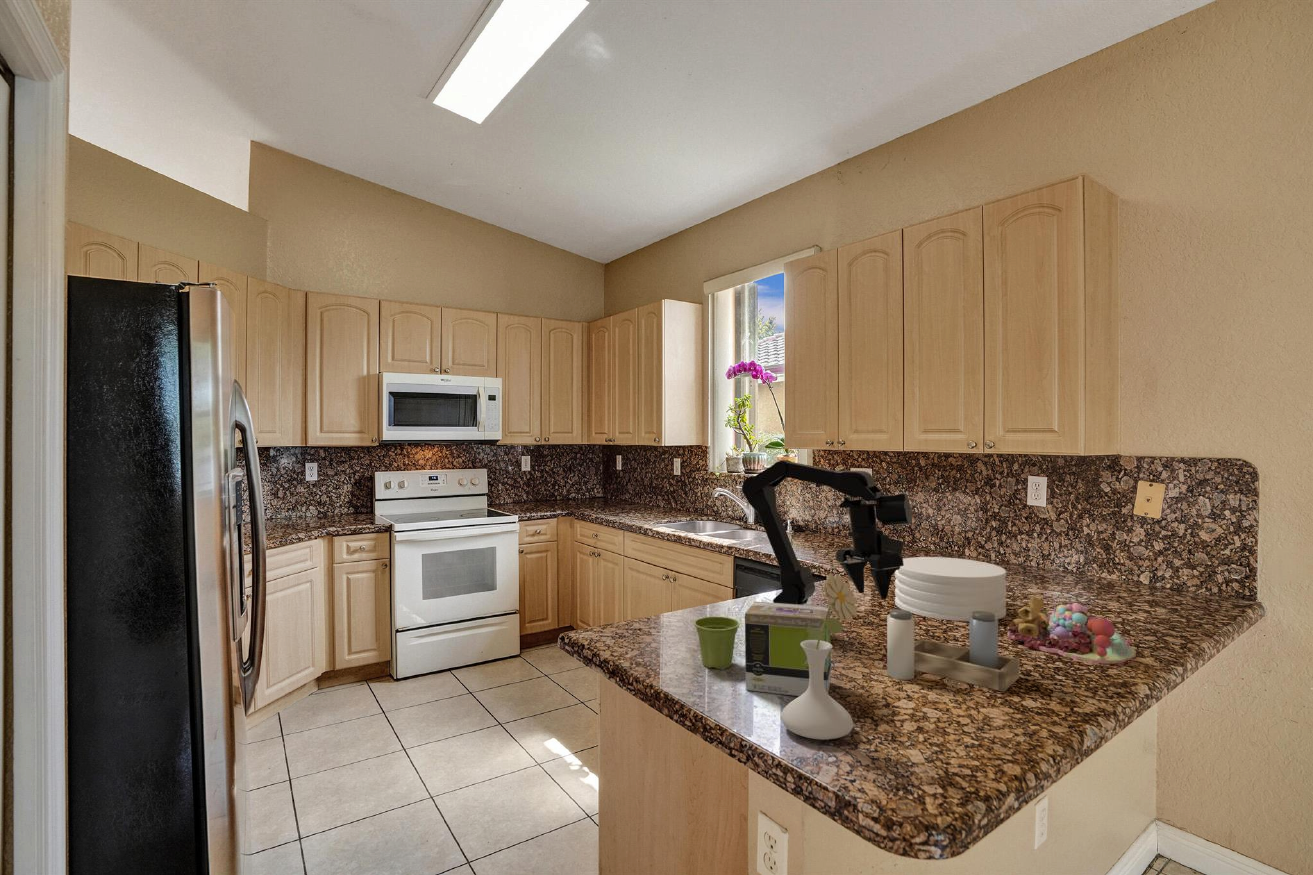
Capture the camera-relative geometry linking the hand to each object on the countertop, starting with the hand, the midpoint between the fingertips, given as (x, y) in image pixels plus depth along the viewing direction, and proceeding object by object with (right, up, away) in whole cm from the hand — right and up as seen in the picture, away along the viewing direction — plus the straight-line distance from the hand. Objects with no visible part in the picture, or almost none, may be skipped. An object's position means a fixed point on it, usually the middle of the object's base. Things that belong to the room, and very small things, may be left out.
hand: (872, 595), depth 145 cm
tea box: (-24, -12, -23) cm, 35 cm away
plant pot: (-36, -12, -11) cm, 40 cm away
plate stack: (+32, -12, +34) cm, 48 cm away
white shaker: (0, -11, -18) cm, 21 cm away
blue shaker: (+15, -11, -19) cm, 27 cm away
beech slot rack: (+12, -11, -16) cm, 23 cm away
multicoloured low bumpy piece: (+46, -12, +2) cm, 47 cm away
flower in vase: (-22, -12, -41) cm, 48 cm away
